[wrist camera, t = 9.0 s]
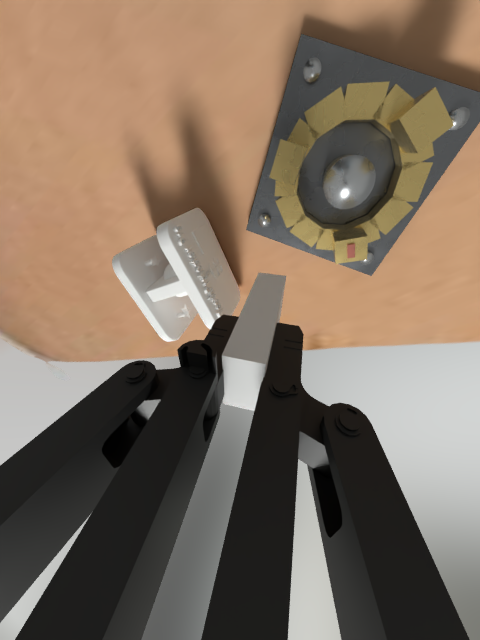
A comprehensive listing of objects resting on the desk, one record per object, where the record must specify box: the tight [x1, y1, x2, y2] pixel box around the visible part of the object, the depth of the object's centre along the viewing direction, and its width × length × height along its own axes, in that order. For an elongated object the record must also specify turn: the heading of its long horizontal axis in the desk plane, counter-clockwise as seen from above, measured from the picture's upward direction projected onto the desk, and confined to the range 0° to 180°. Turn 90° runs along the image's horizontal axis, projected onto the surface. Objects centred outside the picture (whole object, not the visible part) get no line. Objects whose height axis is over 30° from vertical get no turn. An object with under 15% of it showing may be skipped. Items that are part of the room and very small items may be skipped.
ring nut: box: [269, 82, 454, 264], centre depth 23 cm, size 14×14×7 cm
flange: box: [246, 34, 480, 276], centre depth 25 cm, size 18×18×7 cm
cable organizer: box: [112, 208, 240, 342], centre depth 34 cm, size 15×11×12 cm
